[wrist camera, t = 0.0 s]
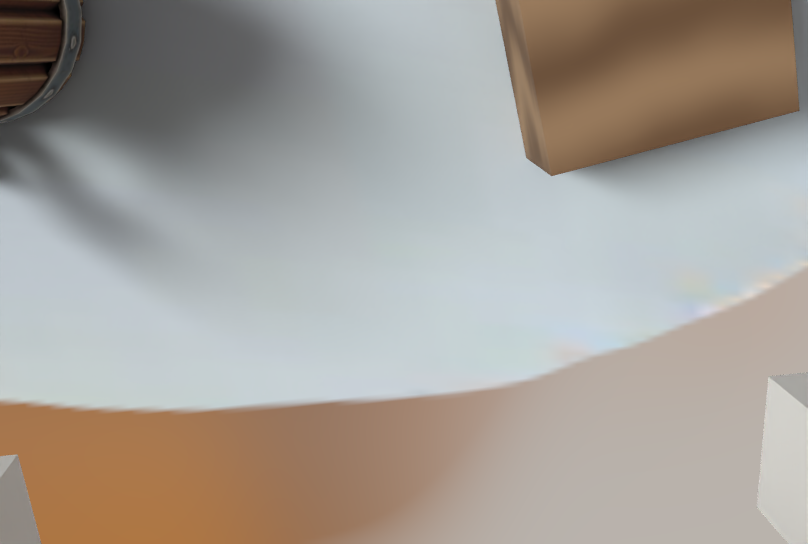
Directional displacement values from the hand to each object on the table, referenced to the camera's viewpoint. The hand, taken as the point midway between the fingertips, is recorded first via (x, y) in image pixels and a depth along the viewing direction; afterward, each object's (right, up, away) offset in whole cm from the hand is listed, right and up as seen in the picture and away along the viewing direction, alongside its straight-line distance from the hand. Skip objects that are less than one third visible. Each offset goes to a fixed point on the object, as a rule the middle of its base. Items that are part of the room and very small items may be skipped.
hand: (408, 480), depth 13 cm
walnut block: (+11, +17, +25) cm, 32 cm away
